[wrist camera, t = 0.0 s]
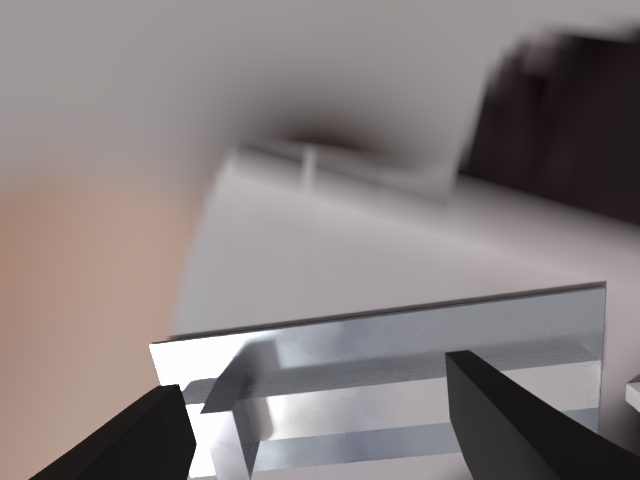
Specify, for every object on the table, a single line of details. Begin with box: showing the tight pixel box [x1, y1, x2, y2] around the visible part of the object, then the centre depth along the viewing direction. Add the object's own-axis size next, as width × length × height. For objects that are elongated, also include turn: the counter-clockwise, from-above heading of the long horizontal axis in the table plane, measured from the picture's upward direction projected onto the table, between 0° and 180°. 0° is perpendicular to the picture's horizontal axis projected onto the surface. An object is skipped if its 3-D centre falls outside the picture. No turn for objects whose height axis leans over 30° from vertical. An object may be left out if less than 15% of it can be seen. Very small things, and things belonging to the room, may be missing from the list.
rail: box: [150, 286, 606, 480], centre depth 19 cm, size 10×26×3 cm, turn 99°
